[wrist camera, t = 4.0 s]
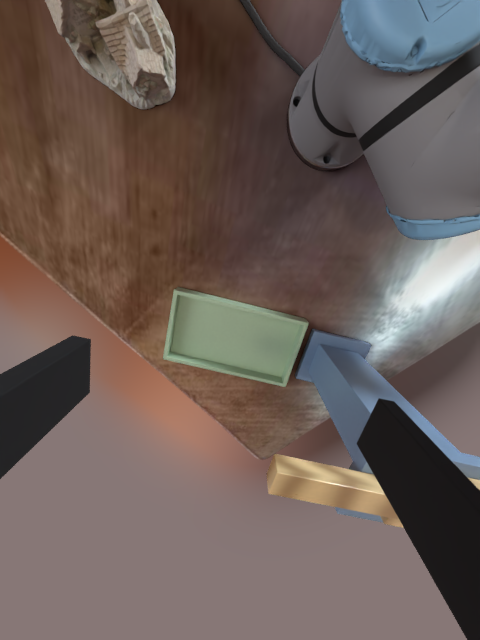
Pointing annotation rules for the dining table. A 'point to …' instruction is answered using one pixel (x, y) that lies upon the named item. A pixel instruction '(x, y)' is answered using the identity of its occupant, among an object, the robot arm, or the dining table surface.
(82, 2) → the ceramic cottage
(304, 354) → the stand
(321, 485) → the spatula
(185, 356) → the tray
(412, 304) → the dining table surface
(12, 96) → the dining table surface
